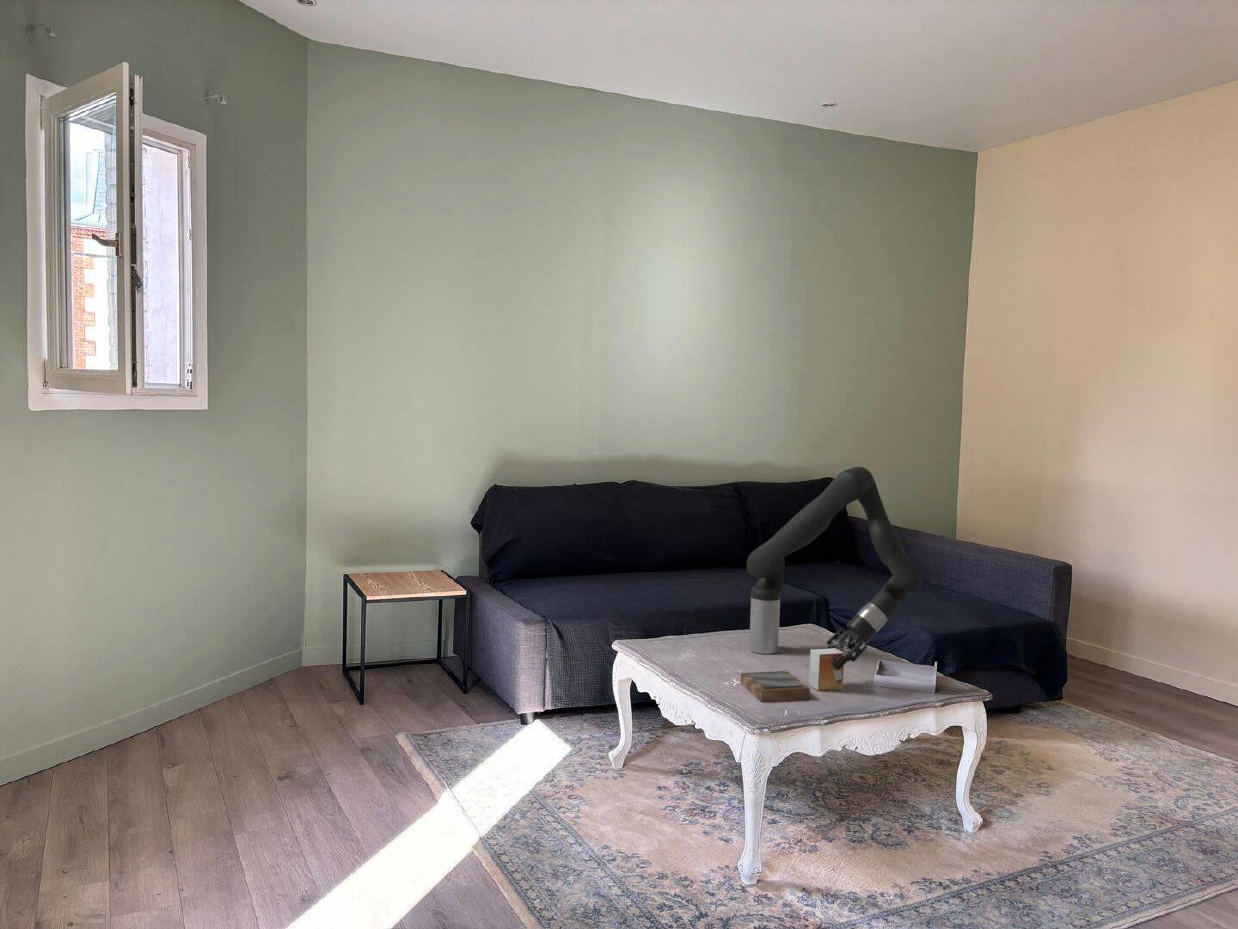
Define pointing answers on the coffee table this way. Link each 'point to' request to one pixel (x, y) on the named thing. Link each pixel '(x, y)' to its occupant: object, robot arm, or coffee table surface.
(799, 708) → the coffee table surface
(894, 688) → the coffee table surface
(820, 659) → the small box
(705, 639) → the coffee table surface
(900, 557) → the robot arm
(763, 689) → the plinth
